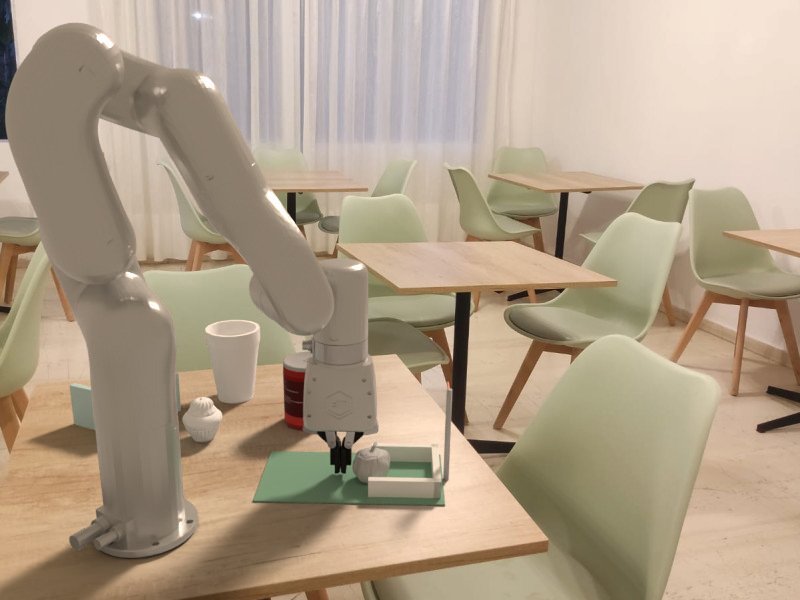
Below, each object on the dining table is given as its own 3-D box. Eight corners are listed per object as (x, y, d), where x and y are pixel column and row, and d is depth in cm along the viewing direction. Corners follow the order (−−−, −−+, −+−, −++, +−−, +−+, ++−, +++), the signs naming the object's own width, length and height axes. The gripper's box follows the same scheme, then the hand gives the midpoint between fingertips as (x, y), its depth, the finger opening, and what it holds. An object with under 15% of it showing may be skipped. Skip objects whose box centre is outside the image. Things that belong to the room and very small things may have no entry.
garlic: (372, 464, 109) (372, 432, 108) (399, 477, 106) (400, 444, 104) (343, 479, 105) (343, 446, 104) (370, 493, 102) (371, 459, 100)
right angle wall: (181, 413, 127) (178, 372, 125) (130, 442, 116) (126, 398, 114) (127, 400, 132) (124, 361, 129) (74, 427, 121) (69, 385, 119)
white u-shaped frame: (368, 498, 101) (368, 404, 97) (371, 458, 111) (372, 373, 108) (450, 499, 101) (454, 406, 97) (446, 460, 111) (450, 374, 108)
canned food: (334, 411, 127) (334, 352, 124) (325, 432, 120) (324, 369, 117) (291, 409, 128) (289, 349, 125) (279, 429, 120) (277, 367, 117)
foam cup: (221, 384, 138) (217, 318, 134) (268, 387, 137) (266, 321, 133) (201, 405, 129) (196, 335, 125) (251, 409, 128) (248, 338, 124)
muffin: (183, 432, 119) (180, 392, 117) (221, 427, 121) (219, 387, 119) (184, 449, 113) (181, 407, 111) (225, 444, 115) (223, 403, 113)
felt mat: (253, 501, 100) (253, 500, 99) (271, 452, 113) (271, 451, 113) (444, 505, 99) (445, 504, 99) (440, 455, 113) (440, 454, 113)
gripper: (281, 358, 97) (285, 481, 102) (394, 360, 97) (392, 483, 102) (290, 339, 104) (292, 455, 109) (395, 341, 104) (393, 457, 109)
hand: (341, 468), depth 106 cm, fingers closed
